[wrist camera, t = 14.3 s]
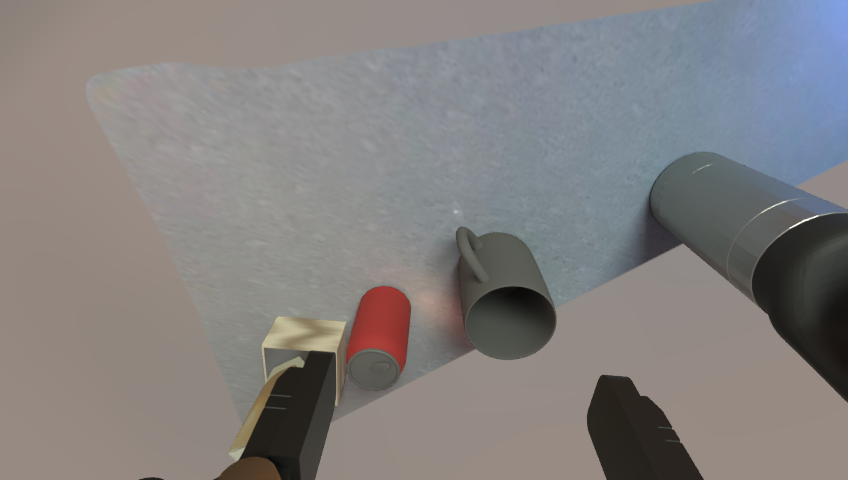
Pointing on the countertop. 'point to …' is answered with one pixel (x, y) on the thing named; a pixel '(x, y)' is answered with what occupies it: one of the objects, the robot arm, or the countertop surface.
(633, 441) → the robot arm
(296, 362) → the skincare box
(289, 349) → the birch plinth
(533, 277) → the mug
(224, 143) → the countertop surface
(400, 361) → the beer can
